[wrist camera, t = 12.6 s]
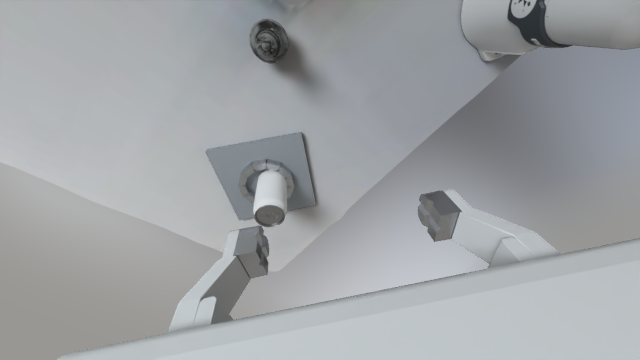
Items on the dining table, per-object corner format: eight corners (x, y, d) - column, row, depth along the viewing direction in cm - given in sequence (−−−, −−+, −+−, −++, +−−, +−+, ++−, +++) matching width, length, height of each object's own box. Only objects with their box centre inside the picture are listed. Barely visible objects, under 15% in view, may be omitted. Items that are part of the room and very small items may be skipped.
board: (301, 132, 48) (301, 134, 47) (315, 202, 60) (316, 205, 59) (207, 149, 48) (205, 152, 47) (240, 216, 59) (239, 220, 58)
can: (259, 166, 50) (253, 201, 40) (288, 170, 52) (289, 205, 42) (256, 189, 54) (250, 227, 44) (284, 192, 55) (284, 229, 45)
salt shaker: (271, 67, 40) (267, 82, 31) (244, 38, 38) (230, 44, 28) (295, 42, 39) (299, 49, 29) (269, 9, 36) (263, 5, 26)
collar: (286, 154, 49) (286, 158, 48) (297, 196, 56) (298, 201, 55) (231, 164, 49) (230, 169, 48) (249, 205, 56) (248, 210, 55)
